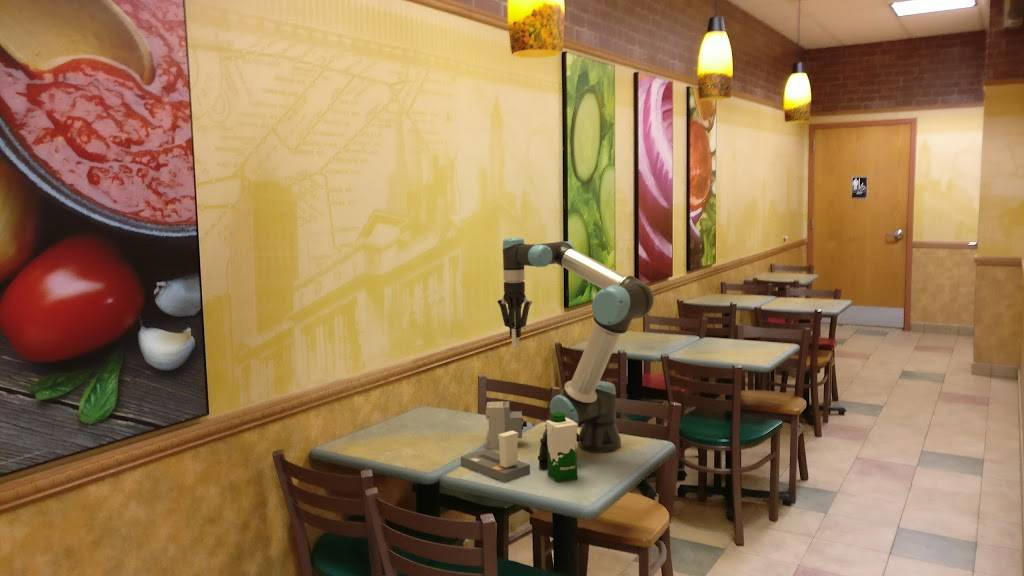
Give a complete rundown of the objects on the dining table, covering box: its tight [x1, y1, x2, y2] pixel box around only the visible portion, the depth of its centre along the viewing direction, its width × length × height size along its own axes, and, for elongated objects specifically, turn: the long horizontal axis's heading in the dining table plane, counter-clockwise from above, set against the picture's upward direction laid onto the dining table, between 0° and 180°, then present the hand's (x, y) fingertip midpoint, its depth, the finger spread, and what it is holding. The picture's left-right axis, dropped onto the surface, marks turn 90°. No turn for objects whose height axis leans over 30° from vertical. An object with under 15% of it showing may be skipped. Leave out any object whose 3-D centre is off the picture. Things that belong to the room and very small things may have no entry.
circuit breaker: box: [485, 400, 528, 450], centre depth 285 cm, size 8×14×15 cm, turn 89°
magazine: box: [537, 424, 580, 471], centre depth 262 cm, size 4×13×15 cm, turn 99°
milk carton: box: [545, 412, 579, 483], centre depth 252 cm, size 9×9×20 cm
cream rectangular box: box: [498, 431, 519, 468], centre depth 256 cm, size 3×6×10 cm, turn 132°
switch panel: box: [460, 448, 531, 484], centre depth 262 cm, size 22×11×3 cm, turn 42°
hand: (515, 346), depth 288 cm, fingers closed
